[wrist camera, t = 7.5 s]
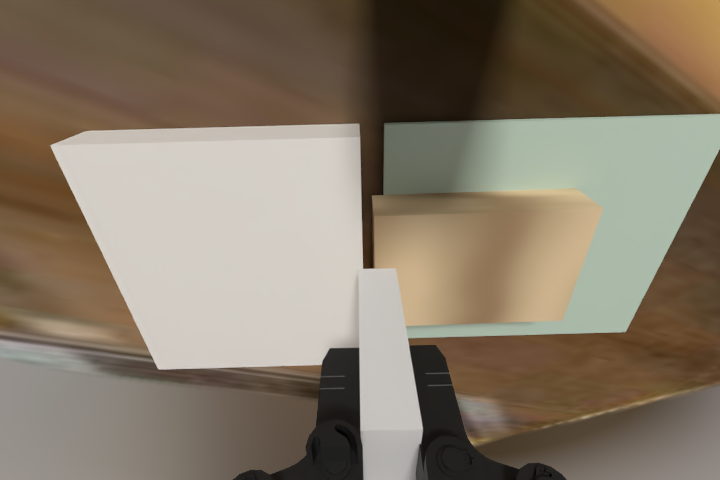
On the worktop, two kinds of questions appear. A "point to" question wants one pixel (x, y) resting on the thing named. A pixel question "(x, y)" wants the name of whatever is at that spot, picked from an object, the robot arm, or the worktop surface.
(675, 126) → the mat
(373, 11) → the worktop surface
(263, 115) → the worktop surface
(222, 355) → the white flat square block
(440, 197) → the tan flat block
